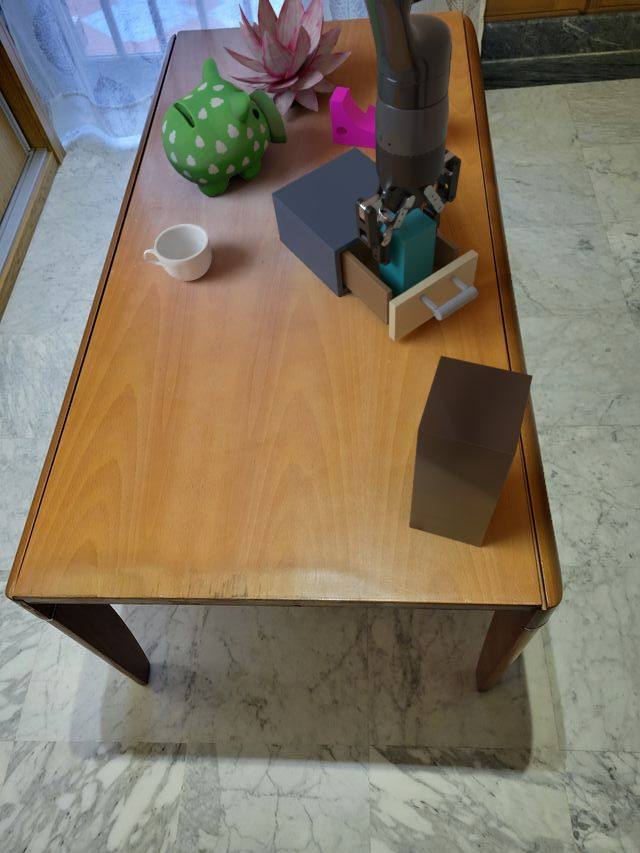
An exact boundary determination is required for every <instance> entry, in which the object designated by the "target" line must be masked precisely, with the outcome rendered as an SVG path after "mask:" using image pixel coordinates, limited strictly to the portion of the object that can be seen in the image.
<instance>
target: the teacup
mask: <svg viewBox="0 0 640 853" xmlns="http://www.w3.org/2000/svg"><path fill="white" fill-rule="evenodd" d="M148 254H151V255H153V256H155V257H156V258H157V260H156V259H151V258H149V257H148ZM212 256H213V252H212V246H211V242H210V238H209V234H208V232H207V231H206V230H205V228H203V227H202V226H200V225H199V224H194V223H180V224H179V223H178V224H175V225H172V226H169V227H168V228H165V229H164V230H163V231H161V232H160V233H159V235H158V236H157V237H156V239H155V241H154V244H153V248H148V249H146V250H144V252H143V258H144V260H145V261H146V262H147V263H149V264H153V265H156V266H160V267H162V268H163V269H164V271H165V272H166V273H167V274H168V275H169V276H170V277H172V278H173V279H176V280H179V281H182V282H192V281H195V280H198V279H200V278H201V277H203V276H205V274H206V273H207V272H208V270H209V269H210V267H211V265H212V260H213V258H212Z"/></svg>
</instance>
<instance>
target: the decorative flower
mask: <svg viewBox="0 0 640 853" xmlns="http://www.w3.org/2000/svg"><path fill="white" fill-rule="evenodd" d="M270 1H271V0H258V5H257V6H258V7H257V14H256V15H257V22H255V21H253V22H252V25H251V23H250V21H249V20H248V19H247V17H246V15H245V12H244V10H243V8H242V6H241V4H240V3H238V7H239V12H240V19H241V21H238V24H239V27H240V33H241V36H242V40H243V42H244V44H245V45H246V47H247V49H248V50H249V52H250V53H251V55H252V56H253V57H254V58H255V59H254V58H252V57H248V56H246V55H243V54H241V53H238V52H236V51H233V50H232V49H230V48H227V47H226V46H223V49H224V51H226V52H227V53H228V55H229V56H230V58H232V59H233V60H235V61H237V62H238V63H239V64H240V65H242V66H244V67H246V68H247V69H249V70H252V71H254V72H256V73H259V74H263V75H259V76H250V77H236V76H233V75H229V74H228V77H230V78H232V79H233V80H235V81H238V82H242V83H246V84H244V87H247V88H252V89H258V88H261V87H266V86H267V87H266V88H265V89H264V90H263V91H264V92H265V93H266V94H267V95H268V96H269V97H270V98H271V99H272V98H273V99H272V101H273V102H274V103H275V105H276V106H277V108H278V110H279V112H280V114H281V116H282V117H283V116H284V115H285V114H286V113H287V112H288V111H289V110H290V108H291V106H292V103H293V102H294V100H296V102H298V104H300V105H301V106H303V107H304V108H306V109H309V110H311V111H314V112H318V111H319V105H318V104H319V103H318V98H317V96H316V95H317V94H316V93H322V94H323V93H324V94H327V93H328V94H329V93H334V91H335V89H336V88H337V86H335V85H334V84H332V82H329V80H327V79H325V78H324V77H326V76H328V75H329V74H331V73H333V72H334V71H335V70H336V69H337V68H338V67H339V66H340V65H341V64H343V63H344V62H345V61H346V60H347V59H348V58H349V56H350V55H351V54H352V50H348V51H340V52H333V50H334V49H335V47H336V45H337V43H338V41H339V37H340V34H341V31H342V29H343V25H342V23H341V24H339V25H337V26H334V27H333V28H331V29H329V30H327V31H326V32H324V33H323V29H324V25H325V22H324V20H325V18H324V17H325V16H324V5H323V0H311V1H310V3H309V4H308V6H307V7H306V9H305V7H304V3H303V1H302V0H283V3H282V6H281V8H280V10H279V13H278V15H277V14H276V11H275V10H274V7H273V5H272V3H271V2H270Z"/></svg>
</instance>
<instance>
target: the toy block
mask: <svg viewBox="0 0 640 853" xmlns="http://www.w3.org/2000/svg"><path fill="white" fill-rule="evenodd" d="M375 106H376V105H372V104H371V103H369V104H368V107H367V109H366V111H363V109H361V108H360V107H359V106H358V104H356V102H355V101H354V99H353V96H352V94H351V91H350V87H343V86H336V89H335V91H334V92H332V95H331V97H330V99H329V109H330V112H329V113H330V122H331V124H330V125H331V135H332V144H339V145H346V146H354V147H361V148H368V149H373V150H374V149H375Z"/></svg>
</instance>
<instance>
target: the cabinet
mask: <svg viewBox="0 0 640 853" xmlns="http://www.w3.org/2000/svg"><path fill="white" fill-rule="evenodd" d="M378 186H379V178H378V174H377V171H376V161H374V160H373V159H372V158H370V157H369V156H368V155H367V154H366V153H364V152H362V150H361V149H359V148H358V147H357V146H354V147H352V148H350V149H349V150H347V151H345V152H344V153H342V154H340V155H338V156H336V157H334V158H332V159H331V160H329V161H327V162H326V163H324V164H322V165H320V166H318V167H316V168H314V169H312V170H311V171H309V172H307V173H305V174H304V175H302V176H300V177H298V178H296V179H295V180H293V181H291V182H289V183H288V184H285V185H284V186H282V187H280V188H278V189H277V190H275V191H273V192H271V198H272V203H273V204H272V205H273V209H274V214H275V220H276V225H277V229H278V230H277V231H278V235H279V240H280V242H281V243H282V244H283V245H284V246H285V247H286V248H287V249H289V251H290V252H291V253H293V255H294V256H296V257H297V259H299V260H300V261H301V262H302V263H303V264H304V265H305V266H306V267H307V268H308V269H309V270H310V271H311V272H312V273H313V274H314V275H315V276H316V277H317V278H318V279H319V280H320V281H321V282H322V283H323V284H324V285H325V286H326V287H327V288H328V289H329V290H330V291H331V292H332V293H333V294H335V295H336V296H337V297H338V298H340V297H342V296H343V295H344V294H347V293H348V292H350V291H351V290H350V289H348V288H347V287H346V286H345V285H344V284H343V283H342V273H341V262H340V253H341V252H342V251H344V250H346V249H347V248H349V247H351V246H352V245H354V244H356V243H357V242H359V241H361V240H360V239H359V238H358V233H357V222H356V211H355V202H356V201H357V199H359V198H363V199H364V200H365V201H367V200H369V199H370V198H372V197H373V196H375V195H376V191H377V189H378ZM418 209H420V210H421V211H422V209H423V206H421V207H419V208H418ZM387 213H388V215H389V214H391V213H392V212H391V211H390V210H389V209H388V208H387Z"/></svg>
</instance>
